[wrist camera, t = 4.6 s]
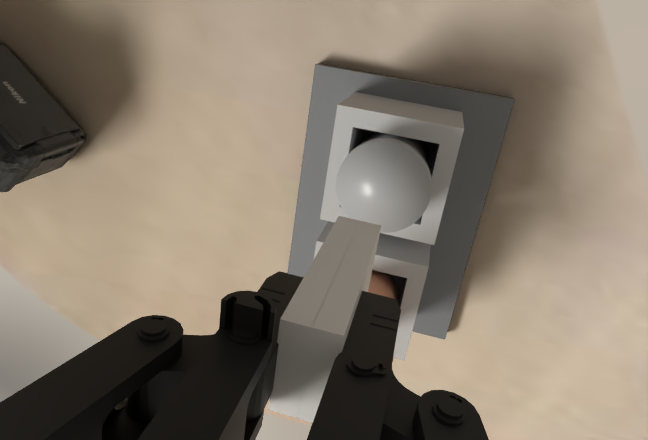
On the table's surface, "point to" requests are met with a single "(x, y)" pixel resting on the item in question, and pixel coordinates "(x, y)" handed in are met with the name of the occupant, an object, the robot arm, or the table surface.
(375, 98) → the panel
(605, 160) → the table surface
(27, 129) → the camera
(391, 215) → the plug grey
